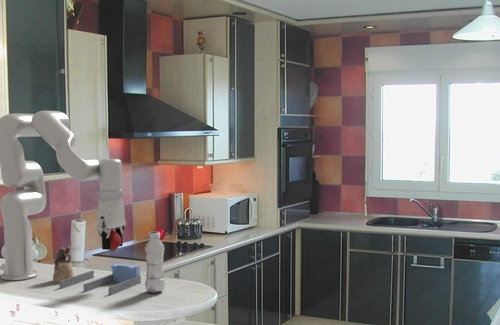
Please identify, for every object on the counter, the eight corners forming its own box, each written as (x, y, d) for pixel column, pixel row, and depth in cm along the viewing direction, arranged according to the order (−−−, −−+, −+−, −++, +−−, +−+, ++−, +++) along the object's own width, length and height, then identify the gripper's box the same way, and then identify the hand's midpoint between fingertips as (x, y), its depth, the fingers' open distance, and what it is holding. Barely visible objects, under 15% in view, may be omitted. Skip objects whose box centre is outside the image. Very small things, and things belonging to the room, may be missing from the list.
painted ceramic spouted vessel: (60, 277, 223) (59, 245, 222) (77, 278, 221) (76, 246, 220) (49, 282, 216) (48, 248, 215) (66, 283, 214) (65, 249, 213)
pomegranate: (100, 251, 208) (100, 228, 207) (115, 249, 212) (114, 226, 211) (109, 254, 204) (109, 230, 203) (124, 251, 208) (124, 228, 207)
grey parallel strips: (59, 288, 207) (59, 281, 207) (92, 277, 223) (91, 270, 223) (110, 295, 199) (110, 287, 198) (140, 282, 214) (140, 275, 214)
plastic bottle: (141, 293, 200) (140, 233, 199) (152, 288, 206) (151, 230, 205) (158, 295, 198) (157, 234, 197) (168, 290, 204) (167, 231, 203)
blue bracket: (109, 282, 215) (109, 265, 215) (115, 280, 218) (115, 263, 218) (134, 285, 211) (133, 268, 211) (139, 282, 214) (139, 266, 214)
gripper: (117, 192, 216) (118, 242, 217) (85, 197, 200) (87, 251, 201) (135, 193, 213) (136, 244, 214) (104, 198, 197) (105, 253, 198)
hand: (112, 247), depth 208 cm, fingers closed on pomegranate, 5 cm apart
